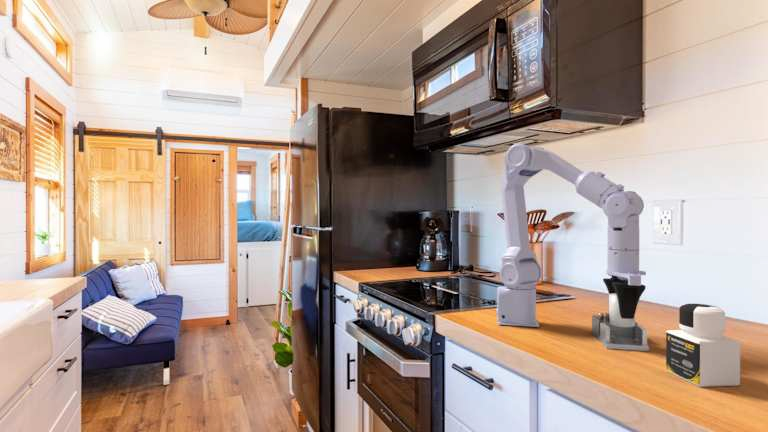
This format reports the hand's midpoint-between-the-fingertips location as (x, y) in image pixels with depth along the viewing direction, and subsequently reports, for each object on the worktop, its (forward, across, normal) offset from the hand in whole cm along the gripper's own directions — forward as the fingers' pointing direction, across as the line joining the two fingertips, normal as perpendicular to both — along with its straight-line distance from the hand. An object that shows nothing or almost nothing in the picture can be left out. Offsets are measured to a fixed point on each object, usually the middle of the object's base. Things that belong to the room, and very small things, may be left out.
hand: (623, 315), depth 88 cm
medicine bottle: (+6, -16, -7) cm, 19 cm away
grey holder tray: (+6, +3, 0) cm, 7 cm away
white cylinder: (+2, 0, 0) cm, 2 cm away
